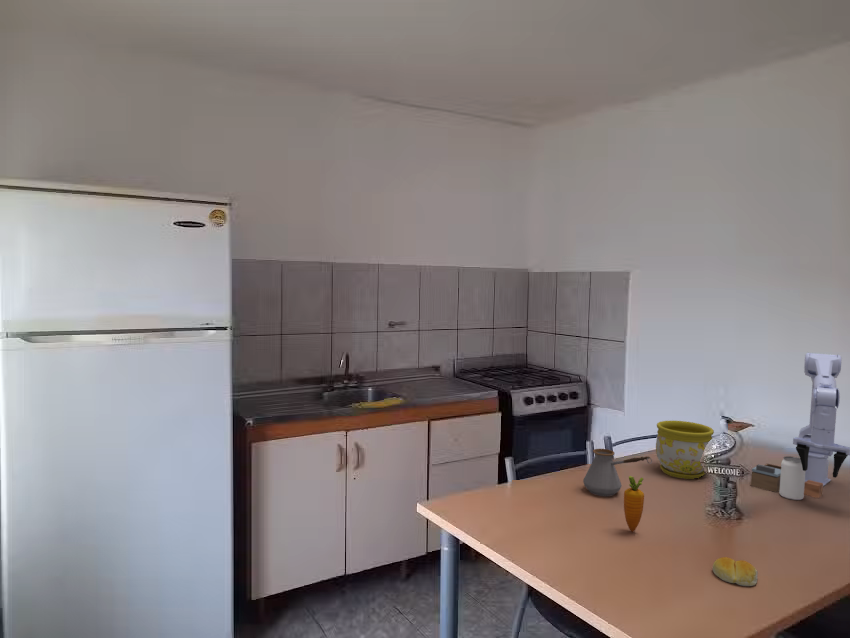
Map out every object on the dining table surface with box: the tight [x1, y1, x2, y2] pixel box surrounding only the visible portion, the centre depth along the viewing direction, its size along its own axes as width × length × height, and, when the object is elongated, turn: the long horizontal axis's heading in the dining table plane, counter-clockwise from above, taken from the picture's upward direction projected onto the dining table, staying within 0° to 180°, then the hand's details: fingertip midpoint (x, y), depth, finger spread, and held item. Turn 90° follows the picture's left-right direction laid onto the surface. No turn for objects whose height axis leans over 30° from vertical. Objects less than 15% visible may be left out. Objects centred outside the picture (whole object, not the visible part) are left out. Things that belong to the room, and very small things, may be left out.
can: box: [778, 455, 806, 501], centre depth 185 cm, size 6×6×12 cm
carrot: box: [623, 475, 645, 533], centre depth 155 cm, size 5×5×15 cm
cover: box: [751, 464, 781, 477], centre depth 194 cm, size 7×8×2 cm
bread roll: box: [712, 556, 759, 587], centre depth 133 cm, size 8×9×4 cm
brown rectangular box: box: [750, 463, 781, 493], centre depth 197 cm, size 14×8×5 cm, turn 133°
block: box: [804, 480, 824, 499], centre depth 187 cm, size 4×4×4 cm
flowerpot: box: [655, 420, 715, 480], centre depth 205 cm, size 18×18×16 cm
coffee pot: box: [582, 448, 653, 497], centre depth 181 cm, size 21×12×15 cm, turn 40°
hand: (819, 473), depth 176 cm, fingers open, 7 cm apart
